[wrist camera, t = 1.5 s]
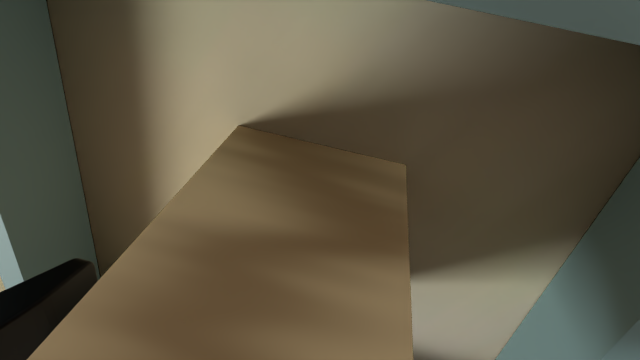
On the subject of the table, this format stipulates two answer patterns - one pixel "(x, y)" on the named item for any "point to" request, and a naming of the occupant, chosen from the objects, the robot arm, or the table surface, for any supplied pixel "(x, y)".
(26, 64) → the crate
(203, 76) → the table surface
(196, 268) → the tan wooden block
